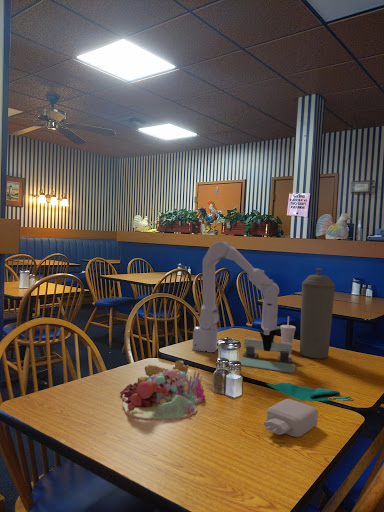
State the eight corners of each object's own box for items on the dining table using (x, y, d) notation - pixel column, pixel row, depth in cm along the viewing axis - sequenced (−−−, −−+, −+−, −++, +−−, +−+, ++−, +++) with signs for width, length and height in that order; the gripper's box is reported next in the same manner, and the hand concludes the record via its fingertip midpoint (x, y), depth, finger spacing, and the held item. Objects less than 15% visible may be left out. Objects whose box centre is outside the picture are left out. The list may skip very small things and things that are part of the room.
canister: (334, 361, 156) (340, 270, 155) (301, 359, 157) (307, 269, 155) (324, 351, 169) (330, 268, 167) (294, 350, 169) (299, 266, 168)
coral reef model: (115, 387, 120) (116, 356, 120) (190, 382, 127) (192, 353, 127) (128, 426, 96) (129, 388, 96) (220, 417, 104) (222, 381, 103)
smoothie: (278, 350, 168) (280, 316, 167) (279, 346, 174) (281, 314, 173) (294, 352, 166) (296, 318, 165) (294, 348, 172) (296, 315, 172)
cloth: (257, 390, 124) (257, 383, 124) (274, 378, 135) (274, 372, 135) (345, 415, 109) (346, 407, 109) (356, 399, 121) (357, 392, 121)
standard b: (276, 361, 153) (277, 351, 152) (278, 356, 158) (279, 347, 158) (290, 363, 151) (291, 353, 151) (291, 358, 157) (292, 349, 157)
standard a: (242, 356, 157) (243, 347, 156) (245, 352, 162) (246, 343, 162) (255, 358, 155) (256, 349, 155) (258, 354, 161) (258, 345, 161)
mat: (231, 364, 146) (231, 363, 146) (236, 357, 155) (236, 356, 155) (293, 373, 140) (293, 372, 140) (295, 365, 148) (295, 364, 148)
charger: (251, 433, 95) (283, 415, 106) (286, 448, 89) (317, 427, 100) (252, 414, 95) (284, 397, 106) (288, 427, 89) (318, 408, 100)
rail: (243, 347, 158) (244, 338, 158) (245, 346, 161) (245, 337, 160) (291, 354, 152) (291, 344, 152) (291, 352, 155) (292, 343, 155)
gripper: (278, 319, 148) (276, 355, 148) (282, 312, 162) (280, 346, 162) (258, 317, 150) (256, 353, 151) (264, 310, 164) (262, 343, 164)
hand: (267, 349), depth 157 cm, fingers open, 4 cm apart
